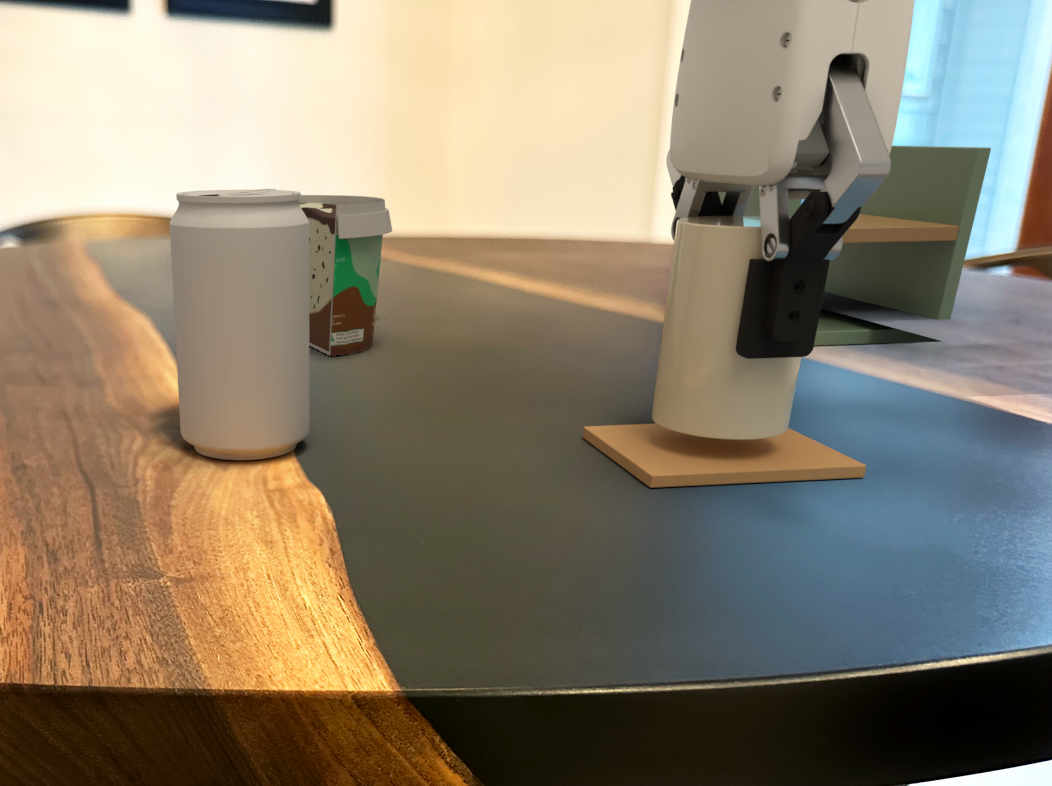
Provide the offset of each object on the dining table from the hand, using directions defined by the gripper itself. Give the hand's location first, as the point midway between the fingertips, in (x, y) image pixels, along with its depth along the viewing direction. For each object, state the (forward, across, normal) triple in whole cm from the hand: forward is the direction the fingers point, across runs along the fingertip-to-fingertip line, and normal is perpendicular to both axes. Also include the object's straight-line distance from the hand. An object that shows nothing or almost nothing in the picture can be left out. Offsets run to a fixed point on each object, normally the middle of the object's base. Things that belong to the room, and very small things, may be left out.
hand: (732, 337), depth 46 cm
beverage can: (+6, +5, +22) cm, 23 cm away
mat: (+6, 0, 0) cm, 6 cm away
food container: (+6, +31, +13) cm, 34 cm away
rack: (+6, +31, -23) cm, 39 cm away
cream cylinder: (+4, 0, 0) cm, 4 cm away
